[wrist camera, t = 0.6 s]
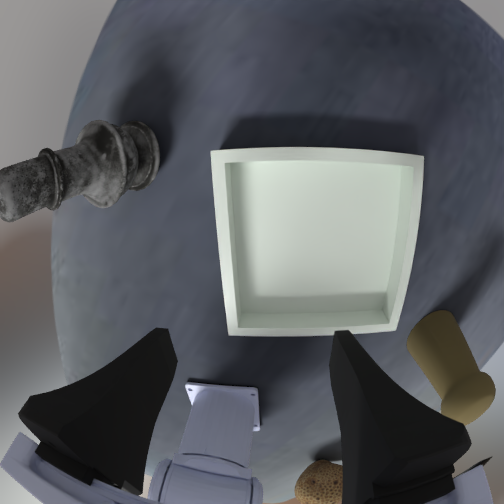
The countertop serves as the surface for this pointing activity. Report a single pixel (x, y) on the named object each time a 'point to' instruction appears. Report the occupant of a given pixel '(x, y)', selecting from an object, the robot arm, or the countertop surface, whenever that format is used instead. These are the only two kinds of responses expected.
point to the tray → (315, 238)
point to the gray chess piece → (82, 170)
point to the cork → (451, 367)
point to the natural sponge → (320, 483)
